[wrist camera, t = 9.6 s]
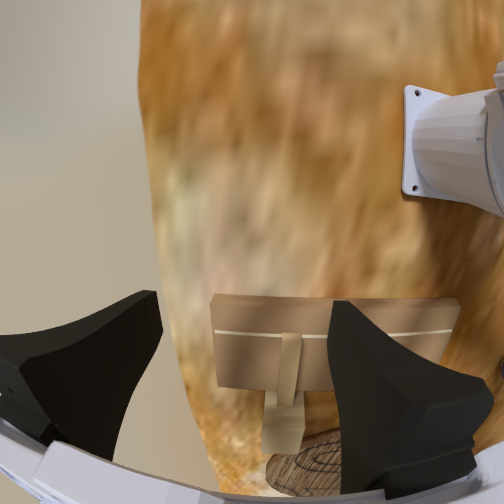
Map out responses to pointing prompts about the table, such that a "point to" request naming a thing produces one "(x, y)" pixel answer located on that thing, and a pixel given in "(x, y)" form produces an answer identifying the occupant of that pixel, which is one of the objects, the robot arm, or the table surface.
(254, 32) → the table surface
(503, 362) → the rubber mallet
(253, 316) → the board
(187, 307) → the table surface
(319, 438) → the trivet
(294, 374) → the beige block with handle
